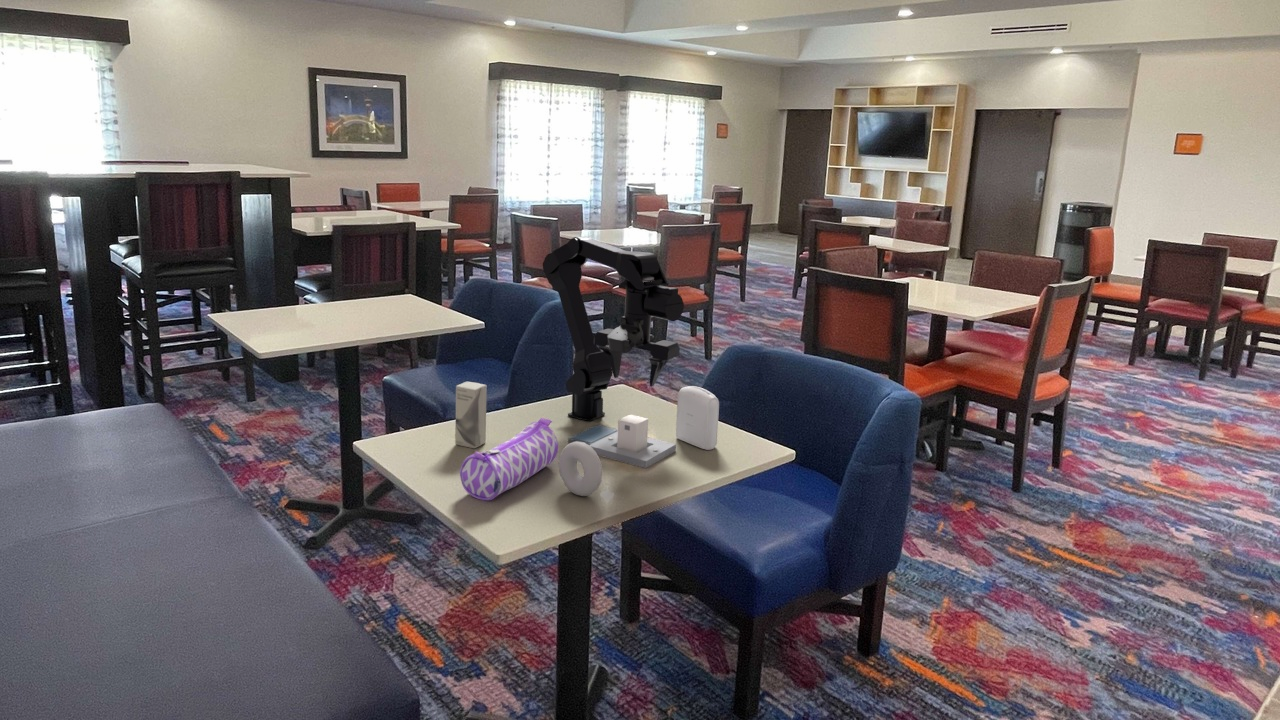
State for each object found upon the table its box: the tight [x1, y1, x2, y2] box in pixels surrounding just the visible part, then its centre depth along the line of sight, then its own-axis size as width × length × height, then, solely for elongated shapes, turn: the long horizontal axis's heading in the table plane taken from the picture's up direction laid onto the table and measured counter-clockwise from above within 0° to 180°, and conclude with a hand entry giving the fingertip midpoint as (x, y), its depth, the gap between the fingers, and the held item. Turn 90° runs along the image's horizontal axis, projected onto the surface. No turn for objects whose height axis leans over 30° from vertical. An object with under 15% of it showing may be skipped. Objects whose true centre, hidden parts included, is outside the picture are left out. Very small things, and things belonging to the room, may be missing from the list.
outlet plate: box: [589, 432, 677, 469], centre depth 172 cm, size 14×12×2 cm
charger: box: [617, 414, 649, 453], centre depth 171 cm, size 4×4×7 cm
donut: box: [558, 441, 603, 497], centre depth 149 cm, size 10×4×10 cm, turn 47°
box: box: [454, 381, 488, 449], centre depth 171 cm, size 5×4×13 cm
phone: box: [567, 424, 618, 445], centre depth 179 cm, size 6×11×1 cm, turn 148°
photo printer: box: [675, 385, 720, 451], centre depth 177 cm, size 10×4×12 cm, turn 39°
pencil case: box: [459, 418, 559, 502], centre depth 154 cm, size 22×9×10 cm, turn 155°
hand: (633, 381), depth 181 cm, fingers open, 9 cm apart
